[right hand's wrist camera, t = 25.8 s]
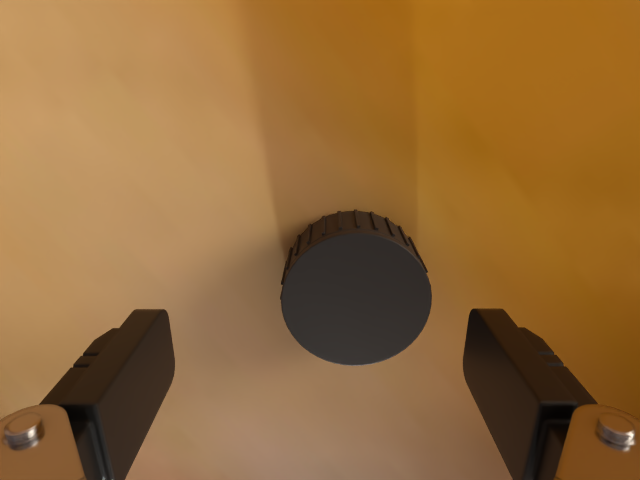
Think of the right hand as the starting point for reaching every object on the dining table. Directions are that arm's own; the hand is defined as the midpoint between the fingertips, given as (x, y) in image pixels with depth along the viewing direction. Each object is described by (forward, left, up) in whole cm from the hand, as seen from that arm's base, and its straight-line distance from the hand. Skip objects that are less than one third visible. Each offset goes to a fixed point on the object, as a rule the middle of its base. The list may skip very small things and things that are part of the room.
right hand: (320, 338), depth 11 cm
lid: (+1, 0, -3) cm, 3 cm away
